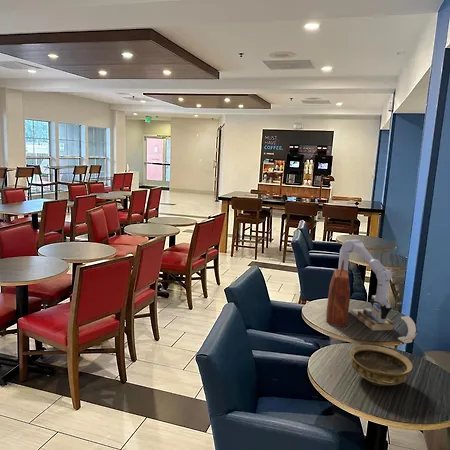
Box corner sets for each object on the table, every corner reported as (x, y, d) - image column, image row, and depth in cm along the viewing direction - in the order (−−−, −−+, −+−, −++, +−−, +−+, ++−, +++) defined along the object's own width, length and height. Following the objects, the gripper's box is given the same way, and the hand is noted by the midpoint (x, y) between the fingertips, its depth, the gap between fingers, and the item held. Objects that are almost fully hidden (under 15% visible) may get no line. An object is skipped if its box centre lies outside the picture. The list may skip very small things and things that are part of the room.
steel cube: (362, 315, 229) (363, 308, 228) (368, 314, 230) (369, 308, 229) (366, 317, 225) (367, 311, 224) (372, 317, 226) (373, 310, 225)
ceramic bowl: (418, 407, 149) (422, 382, 147) (351, 396, 153) (354, 371, 151) (399, 367, 178) (402, 345, 176) (343, 358, 182) (345, 337, 180)
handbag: (326, 324, 220) (333, 262, 214) (326, 311, 239) (333, 253, 232) (346, 327, 218) (354, 265, 211) (344, 314, 237) (352, 256, 230)
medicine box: (370, 317, 225) (372, 302, 223) (378, 317, 225) (380, 302, 224) (377, 323, 217) (380, 307, 216) (385, 323, 218) (387, 307, 216)
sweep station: (350, 312, 239) (351, 306, 238) (368, 312, 242) (369, 306, 241) (372, 330, 216) (373, 322, 215) (392, 330, 218) (393, 322, 218)
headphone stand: (404, 337, 209) (407, 315, 207) (413, 343, 204) (417, 320, 202) (397, 339, 207) (401, 316, 205) (407, 344, 202) (411, 321, 200)
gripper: (368, 287, 225) (365, 310, 227) (383, 296, 211) (379, 321, 213) (379, 287, 226) (376, 310, 228) (395, 296, 212) (391, 321, 214)
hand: (378, 315), depth 221 cm, fingers closed on medicine box, 7 cm apart
